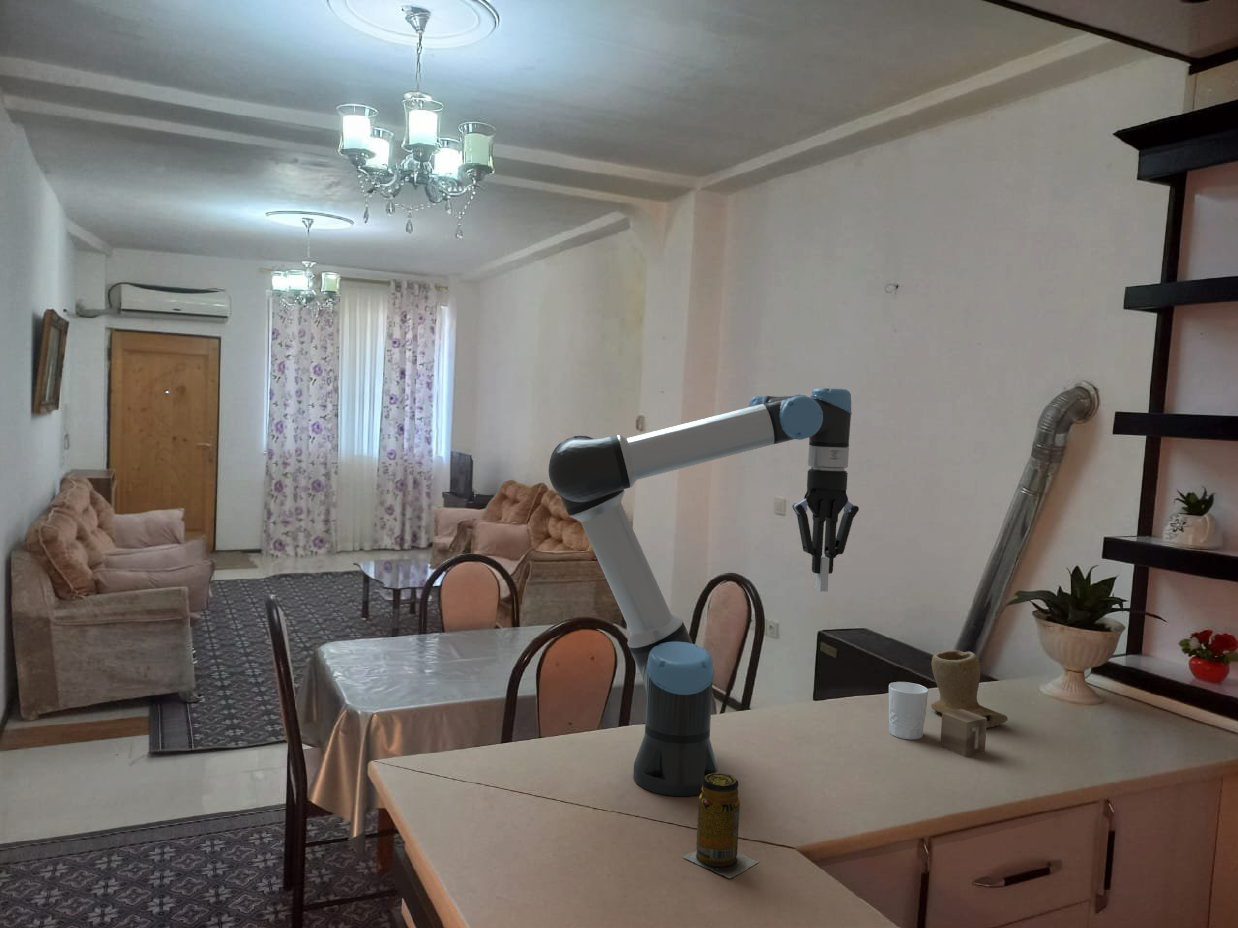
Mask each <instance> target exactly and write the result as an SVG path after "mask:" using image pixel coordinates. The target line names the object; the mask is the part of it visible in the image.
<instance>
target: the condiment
mask: <svg viewBox="0 0 1238 928" xmlns="http://www.w3.org/2000/svg"><path fill="white" fill-rule="evenodd" d="M738 787H739V781H738V780H737V778H736V777H734V776H733V775H730V774H727V773H723V772H722V773H721V772H718V773H712V774H708V775H706V776H705V777H704V778H703V781H702V793H701V794H699V796H698V805H697V807H698V808H697V811H698V812H697V824H696V827H697V829H696V847H695V848H696V849H695V850H694V851H692V852H689V853H687V854H685V855H683V859H686V860H688V861H690V862H692V863H694V864H696V865H698V866H701V867H702V868H705V869H709V870H711V872H714V873H715V874H718V875H721V876H724V877H726V878H728V879H731V878H734V877H736V876H738V875H739V874H741V873H744V872H745V871H747V870H748V869H749V868H752V867H754V866H755V865H756V864H758V863H759V861H758V860H756V859H753V858H751V857H749V856H747V855H744V854H743V853H740V852H738V845H739V828H740V827H739V824H740V806H741V804H740V803H741V802H740V798H739V796H738V795H739V790H738Z"/></svg>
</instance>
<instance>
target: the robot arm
mask: <svg viewBox="0 0 1238 928" xmlns="http://www.w3.org/2000/svg"><path fill="white" fill-rule="evenodd" d="M811 391H812V392H811V395H810V397H809V396H807V395H803V394H795V395H792V396H791V395H788V396H785V395H784V396H775V395H774V396H771V395H763V396H761V395H759V396H758V395H755V396H754V397H752V398H751V399H750V401H749V403H748V407H745V408H741V409H737V410H733V411H728V412H725V413H722V414H717V415H713V416H709V417H706V418H702V419H696V420H693V421H689V422H685V423H682V424H681V423H680V424H677V425H674V426H669V427H666V428H662V429H658V430H654V431H649V432H646V433H642V434H639V435H633V436H631V437H630V436H629V437H624V436H622V435H621V434H616V435H610V436H607V437H606V436H605V437H600V438H593V437H591V436H587V435H574V436H571V437H568V438H566V439H564V440H563V441H561V442H559V444H558V445H556V446H555V448H554V450H552V453H551V455H550V458H549V463H548V477H549V481H550V483H551V485H552V487H553V488H554V491H555V492H557V494H558V495H559V497H560V499H561V502H562V504H563V506H564V508H565V510H566V512H567V515H568V517H570V518H571V519H575V520H576V521H579V522H580V524H581V526H582V529H583V531H584V533H585V535H586V537H587V539H588V542H589V544H590V546H591V548H592V551H593V553H594V555H595V558H596V559H597V562H598V563H599V566H600V568H601V570H602V572H603V575H604V577H605V579H606V582H607V583H608V586H609V588H610V590H611V592H612V594H613V597H614V599H615V601H616V603H617V605H618V609H619V610H620V611H621V614H622V616H623V619H624V621H625V623H626V626H627V627H628V629H629V632H630V634H629V635H630V636H629V637H628V640H627V642H626V643H627V647H628V648H629V649H628V650H629V651H630V653H631V656H632V657H633V658H632V659H634V662H635V664H636V666H637V669H638V671H639V673H640V676H641V678H642V681H643V684H644V688H645V694H646V695H645V696H646V697H645V698H646V699H645V700H646V701H645V724H644V725H645V726H644V736H643V738H642V741H641V743H640V747H639V748H638V752H637V755H636V757H635V760H634V762H633V773H632V775H633V780H634V781H635V783H636V784H637V785H638V786H640V787H641V788H643V789H645V790H647V791H650V792H653V793H656V794H660V795H663V796H664V795H665V796H671V797H672V796H673V797H690V796H698V795H699V796H700V794H701V793H702V781H703V778H704V777H705V776H706V775H708V774H712V773H719V768H718V764H717V761H716V757H715V753H714V750H713V746H712V742H711V719H712V718H711V716H712V702H713V701H712V700H713V698H712V696H713V679H714V675H715V669H714V663H713V662H714V661H713V657H712V655H711V654H710V652H709V651H708V650H706V649H705V648H704V647H703V646H698V645H697V644H695V643H693V641H692V637H691V636H690V634H689V631H688V630H687V628H686V625H685V623H684V620H683V618H681V617H679V616H676V615H673V614H672V613H671V611H670V608H669V606H668V604H667V602H666V600H665V598H664V595H663V594H662V590H661V589H660V586H659V584H658V582H657V579H656V578H655V577H656V576H654V572H653V570H652V568H651V566H650V564H649V562H648V560H647V557H646V555H645V553H644V551H643V548H642V546H641V544H640V542H639V540H638V538H637V535H636V532H635V531H634V529H633V525H632V523H631V522H630V519H629V518H628V516H627V515H628V514H627V512H626V511H625V508H624V506H623V504H622V500H623V498H624V494H625V490H626V489H630V488H632V487H634V485H635V483H636V482H637V480H641V479H644V478H650V477H653V476H656V475H660V474H665V473H668V472H673V471H677V470H680V469H683V468H687V467H688V468H689V467H691V466H695V465H699V464H703V463H707V462H710V461H715V460H718V459H719V460H720V459H722V458H727V457H730V456H733V455H738V454H742V453H746V452H750V451H753V450H757V449H761V448H765V447H768V446H773V445H776V444H777V445H778V444H781V443H785V442H789V441H793V440H799V441H800V440H804V439H808V438H809V441H808V445H809V446H808V458H807V459H808V461H807V466H809V467H810V468H809V469H808V470H807V476H806V479H807V480H806V493H805V494H804V496H803V497H804V498H803V500H801V501H799V502H798V503H796V502H795V503H793V504H792V506H791V507H792V509H793V511H794V513H795V515H796V517H797V523H798V530H799V533H800V534H799V536H800V540H801V545H802V550H803V552H805V553H807V554H809V555H811V557H812V558H811V572H812V573H813V574H815V578H814V579H815V581H814V582H815V583H814V589H815V590H816V591H817V592H818V591H819V592H828V591H829V576H830V575H829V574H831V575H832V574H833V572H834V559H835V558H837V556H838V555H843V554H844V552H845V549H846V545H847V542H848V538H849V535H850V531H851V529H852V525H853V520H854V518H855V516H857V513H858V512H859V510H860V508H859V506H858V505H854V504H853V503H851V502H850V501H849V497H848V494H847V489H848V474H849V473H848V472H847V471H846V470H845V469H847V468H848V467H849V453H850V446H849V445H850V435H851V434H850V432H851V421H852V420H851V419H852V414H853V412H852V394H851V392H850V391H849V390H848V389H845V388H844V389H843V388H831V387H830V388H829V387H828V388H827V387H826V388H825V387H824V388H823V387H822V388H821V387H820V388H819V387H816V388H814V389H812V390H811ZM808 508H809V510H810V511H811V514H812V516H811V517H812V521H813V522H812V533H811V527H810V523H809V522H810V521H809V517H808V514H807V512H808ZM841 511H843V513H842V515H841V519H840V523H839V526H838V530H837V524H838V521H839V514H840V513H841ZM824 529H825V530H824ZM823 546H824V548H823ZM823 549H824V550H823ZM823 554H824V555H823Z"/></svg>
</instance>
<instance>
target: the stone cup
mask: <svg viewBox="0 0 1238 928" xmlns="http://www.w3.org/2000/svg"><path fill="white" fill-rule="evenodd" d="M931 670H932V674H933V677H934V680H935V682H936V686H937V688H938V691H939V699H938V700H937V701H934V702H932V703H931V704H930V707H931V709H932V710H933V711H935V712H938V713H939V714H942V713H945V712H950V711H955V710H960V709H963V710H966V711H969V712H971V713H974V714H977V715H979V716H982V717H985V718H987V727H986V729H987V728H993V727H997V726H1000V725H1002V724H1004V723H1006V722H1007V721H1008V719H1009V718H1008V716H1007V715H1005V714H1003V713H1001V712H997V711H995V710H992V709H990V708H988V707H985V706H983V705H981V704H979V702H978V691H979V687H980V680H981V662H980V659H979V658H978V656H977V655H976V653H974V652H972V651H965V652H964V651H961V650H958V649H951V650H950V649H948V650H944V651H939V652H936V653H935V654H933V656H932V657H931Z"/></svg>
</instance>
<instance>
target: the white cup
mask: <svg viewBox="0 0 1238 928" xmlns="http://www.w3.org/2000/svg"><path fill="white" fill-rule="evenodd" d="M928 696H929V689H928V688H927V687H926V686H923V685H921V684H918V683H913V682H907V681H896V682H895V681H894V682H890V683H889V684H888V720H889V721H888V732H889V733H890V735H891V736H894V737H896V738H898V739H902V740H903V739H904V740H910V741H911V740H919V739H922V738H923V735H924V726H925V722H926V716H927V715H926V714H927V704H928Z"/></svg>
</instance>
